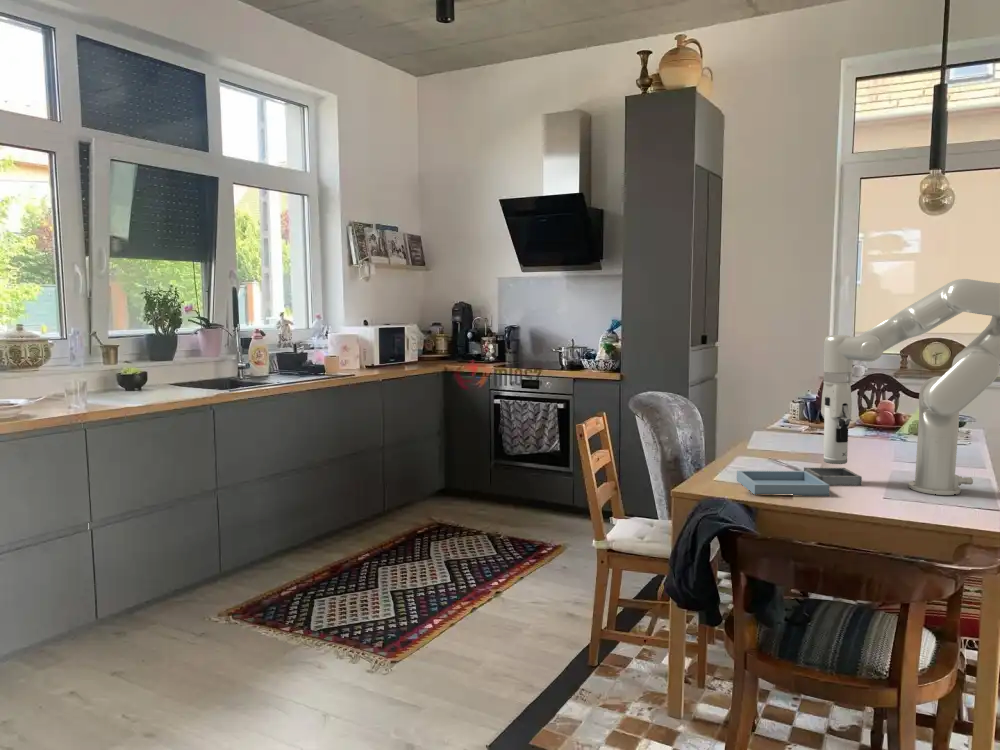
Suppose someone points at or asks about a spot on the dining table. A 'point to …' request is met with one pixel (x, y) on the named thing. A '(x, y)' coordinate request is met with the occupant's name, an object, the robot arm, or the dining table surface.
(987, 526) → the dining table surface
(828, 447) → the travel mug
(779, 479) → the tray
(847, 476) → the small grey square tray
